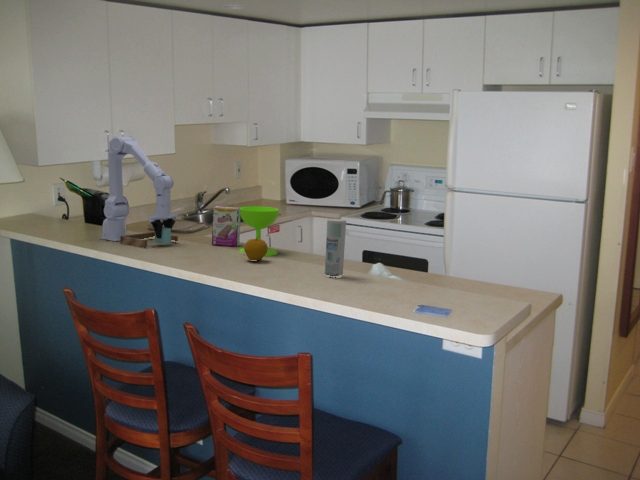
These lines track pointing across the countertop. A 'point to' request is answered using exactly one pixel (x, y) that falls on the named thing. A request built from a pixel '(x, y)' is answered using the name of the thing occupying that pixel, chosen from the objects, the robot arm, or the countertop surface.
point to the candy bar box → (226, 226)
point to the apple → (255, 249)
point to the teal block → (164, 236)
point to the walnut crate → (137, 241)
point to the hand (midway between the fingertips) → (162, 237)
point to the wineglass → (259, 221)
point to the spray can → (335, 247)
